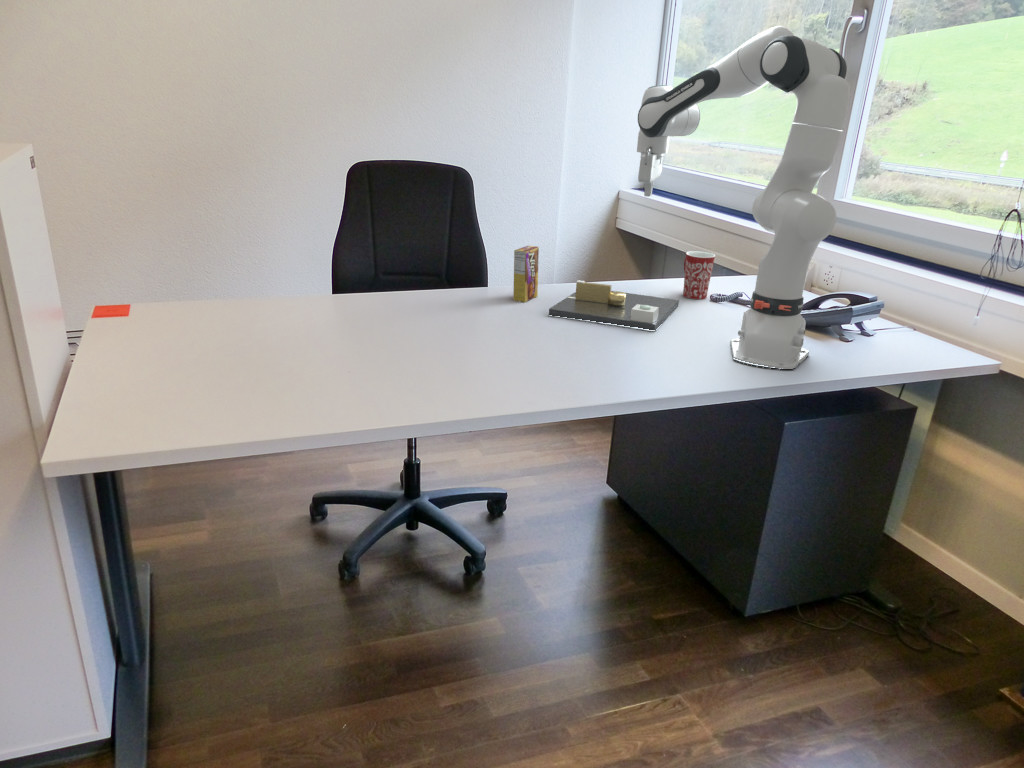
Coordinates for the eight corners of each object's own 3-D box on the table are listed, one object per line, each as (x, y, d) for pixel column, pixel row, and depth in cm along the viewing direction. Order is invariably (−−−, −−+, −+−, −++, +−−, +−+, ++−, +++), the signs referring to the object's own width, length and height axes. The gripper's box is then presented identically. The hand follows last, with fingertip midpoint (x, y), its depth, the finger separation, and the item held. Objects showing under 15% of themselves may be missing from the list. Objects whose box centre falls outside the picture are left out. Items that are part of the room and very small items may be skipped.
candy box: (525, 294, 228) (527, 245, 223) (537, 296, 226) (540, 246, 221) (511, 300, 221) (513, 249, 215) (524, 302, 219) (527, 251, 213)
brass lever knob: (626, 302, 215) (628, 284, 213) (623, 306, 210) (624, 288, 209) (578, 296, 219) (579, 279, 217) (573, 300, 215) (575, 282, 213)
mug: (714, 299, 231) (720, 256, 226) (688, 300, 229) (693, 257, 224) (696, 289, 243) (702, 248, 238) (671, 290, 241) (675, 249, 236)
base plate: (654, 332, 196) (656, 311, 194) (548, 315, 207) (549, 296, 205) (678, 306, 222) (680, 288, 220) (583, 293, 233) (584, 275, 231)
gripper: (658, 148, 202) (653, 200, 207) (668, 145, 220) (663, 193, 225) (635, 147, 204) (630, 199, 209) (647, 144, 222) (642, 191, 227)
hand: (647, 196), depth 217 cm, fingers closed
